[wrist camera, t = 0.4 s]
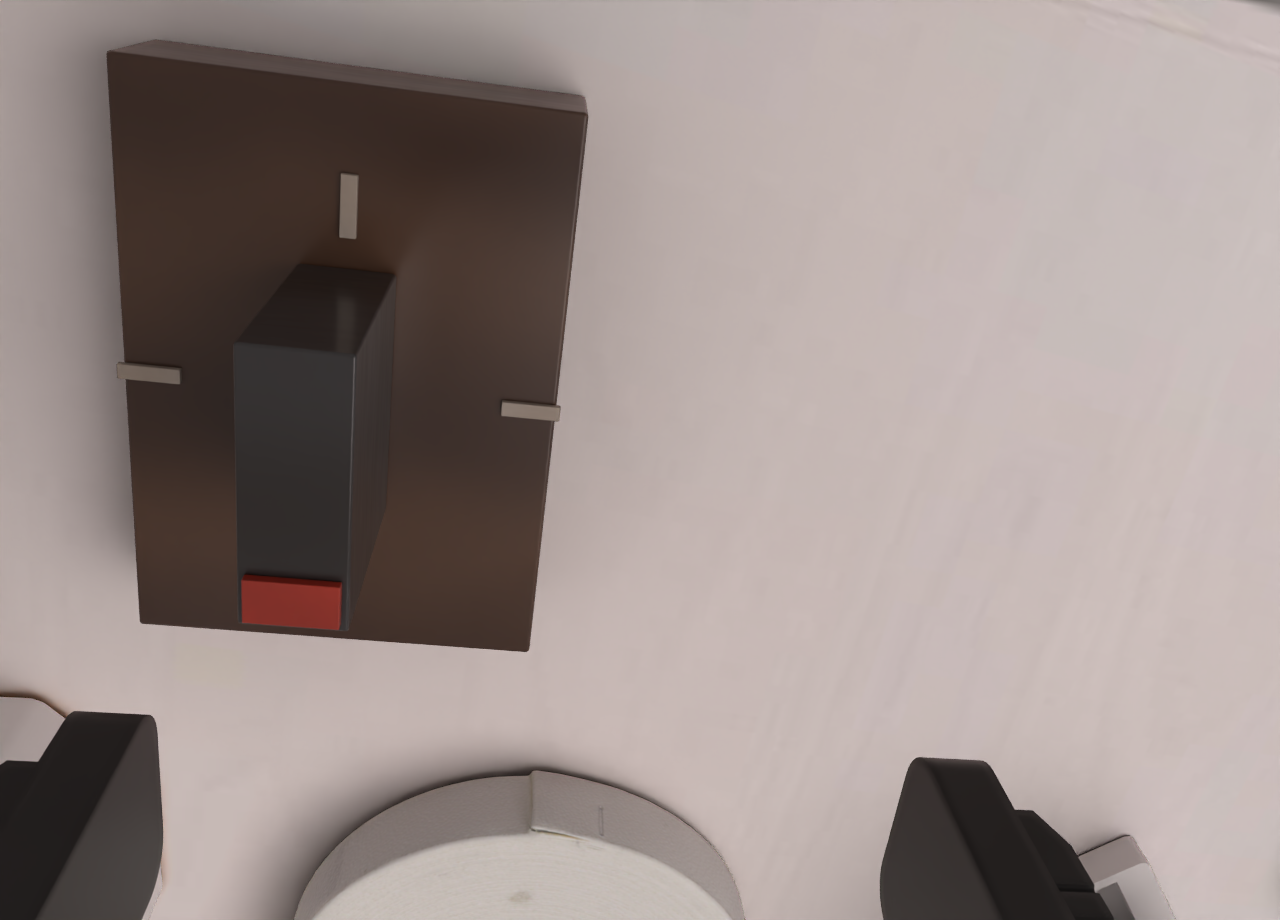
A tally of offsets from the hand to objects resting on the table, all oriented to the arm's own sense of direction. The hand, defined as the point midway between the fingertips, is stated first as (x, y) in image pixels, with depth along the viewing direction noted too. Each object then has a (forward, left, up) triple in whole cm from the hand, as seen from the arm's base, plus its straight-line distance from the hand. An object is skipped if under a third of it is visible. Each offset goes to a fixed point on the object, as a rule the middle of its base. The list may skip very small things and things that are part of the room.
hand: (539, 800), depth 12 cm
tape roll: (+23, +1, -19) cm, 30 cm away
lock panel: (+2, -5, -19) cm, 19 cm away
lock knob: (+2, -5, -16) cm, 16 cm away
